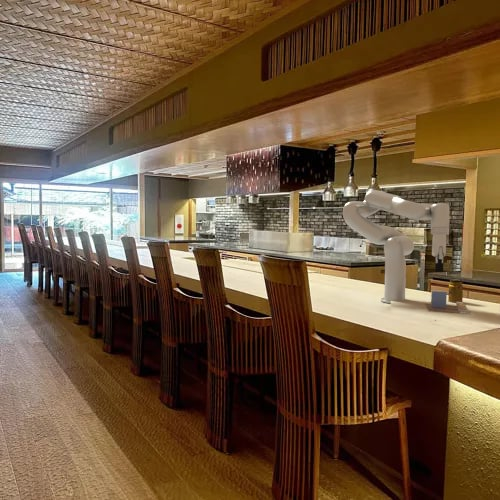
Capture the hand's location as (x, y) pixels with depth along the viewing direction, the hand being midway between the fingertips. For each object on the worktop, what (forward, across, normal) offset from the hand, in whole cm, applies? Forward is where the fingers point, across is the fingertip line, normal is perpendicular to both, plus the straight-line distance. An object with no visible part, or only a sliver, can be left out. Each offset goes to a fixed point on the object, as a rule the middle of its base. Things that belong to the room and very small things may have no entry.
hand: (439, 272), depth 195 cm
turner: (+15, +9, +8) cm, 19 cm away
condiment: (+17, -11, +9) cm, 22 cm away
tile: (+15, +6, -1) cm, 16 cm away
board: (+16, +9, +2) cm, 19 cm away
